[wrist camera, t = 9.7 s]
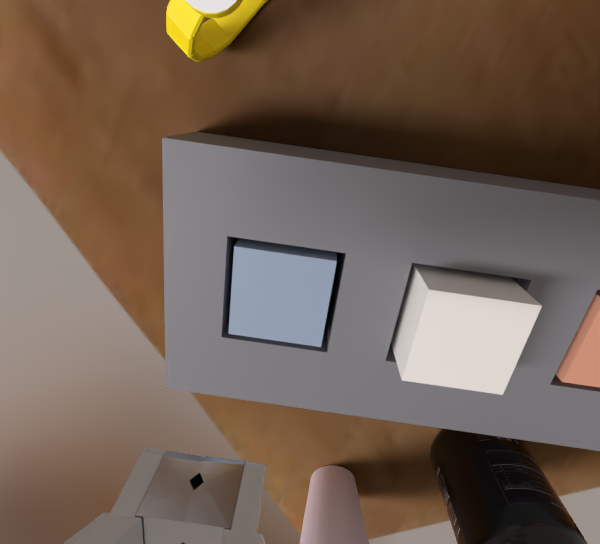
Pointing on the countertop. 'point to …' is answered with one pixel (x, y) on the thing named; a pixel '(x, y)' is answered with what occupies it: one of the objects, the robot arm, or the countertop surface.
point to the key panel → (374, 280)
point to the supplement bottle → (498, 492)
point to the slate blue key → (280, 291)
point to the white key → (461, 328)
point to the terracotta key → (584, 350)
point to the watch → (208, 24)
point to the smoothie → (333, 509)
